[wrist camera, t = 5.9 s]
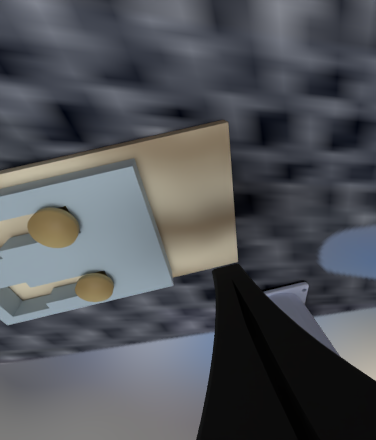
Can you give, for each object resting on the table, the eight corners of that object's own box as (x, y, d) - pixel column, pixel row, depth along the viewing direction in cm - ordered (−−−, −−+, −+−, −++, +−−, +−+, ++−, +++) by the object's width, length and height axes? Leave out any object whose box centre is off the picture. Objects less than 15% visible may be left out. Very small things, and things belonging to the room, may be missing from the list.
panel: (172, 272, 19) (173, 285, 18) (17, 308, 19) (7, 325, 17) (134, 158, 13) (132, 166, 12) (-92, 210, 13) (-119, 223, 12)
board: (234, 254, 20) (247, 282, 17) (28, 303, 20) (8, 339, 17) (223, 119, 14) (242, 129, 11) (-87, 190, 13) (-152, 219, 10)
